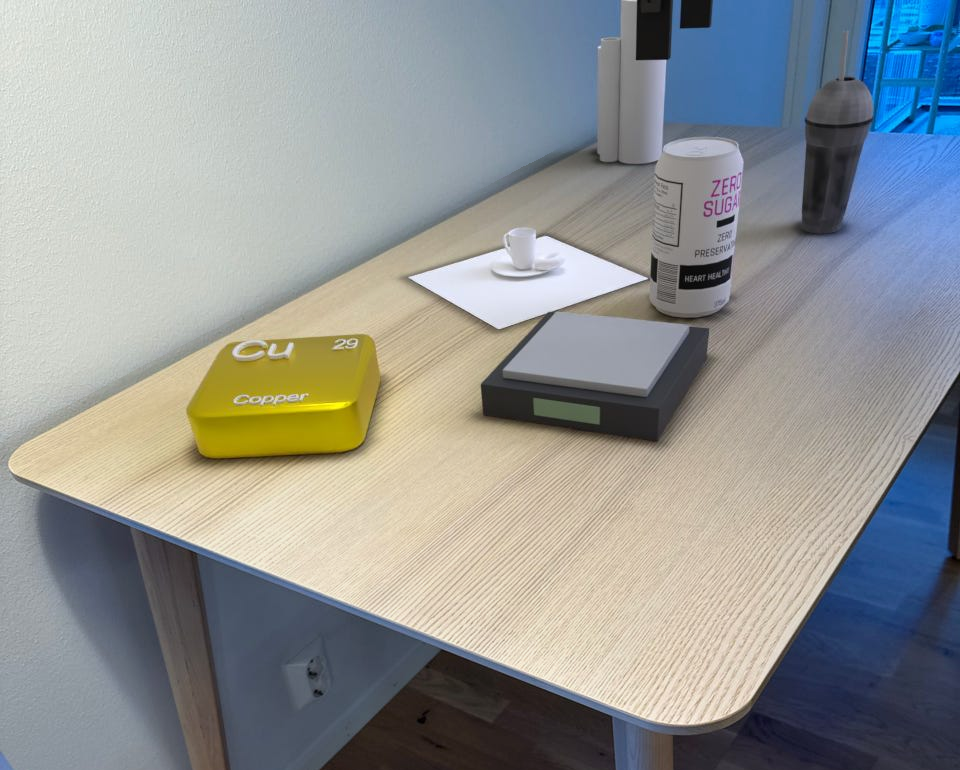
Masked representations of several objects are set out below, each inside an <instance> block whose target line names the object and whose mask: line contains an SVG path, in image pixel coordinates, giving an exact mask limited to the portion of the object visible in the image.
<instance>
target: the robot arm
mask: <svg viewBox="0 0 960 770" xmlns="http://www.w3.org/2000/svg"><path fill="white" fill-rule="evenodd" d="M713 3H714V0H680V16H679V30H680V29H681V30H683V29H684V30H685V29H709V28H711V27H712V21H713V20H712V17H713V5H714V4H713ZM673 9H674V0H637V22H636V60H666V61H668V60H670V59H671V58H672V57H671V56H672V35H673V13H674V11H673Z"/></svg>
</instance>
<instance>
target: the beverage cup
mask: <svg viewBox="0 0 960 770" xmlns="http://www.w3.org/2000/svg"><path fill="white" fill-rule="evenodd" d="M848 41H849V30H843V32H842V42H841V52H840V53H841V54H840V61H839V62H840V63H839V73H838V74H839V75H838V77H834V78H833V79H831V80H829V81H828V82H826V83H825V84H823V85H822V86H821V87H820V88H819V89H818V90H817V92H816V93H815V94H814V96H813V98H811V100H810V103H809V106H808V109H807V112H806V116H805V117H804V123H805V126H804V133H805V134H804V137H805V138H804V139H805V154H804V171H803V185H802V187H803V188H802V199H801V200H802V203H801V226H800V227H801V229H802V230H803V231H804V232H807V233H810V234H811V233H812V234H831V233H836V232H838V231H839V230H841V228H842V224H843V221H844V217H845V214H846V212H847V208H848V204H849V200H850V196H851V193H852V189H853V185H854V181H855V178H856V174H857V170H858V166H859V162H860V159H861V155H862V151H863V147H864V144H865V141H866V140H867V137H868V134H869V132H870V129H871V124H872V123H873V121H874V102H873V97H872V93H871V91H870V89H869V88H868V86H867V85H866V83H864V82H863V81H862V80H860V79H859V78H857V77H854V76H845V72H846V64H847V63H846V60H847V51H848Z"/></svg>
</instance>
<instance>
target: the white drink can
mask: <svg viewBox="0 0 960 770" xmlns="http://www.w3.org/2000/svg"><path fill="white" fill-rule="evenodd" d="M739 146H740V145H739V143H738V142H737V141H736V140H733V139H730V138H726V137H718V136H694V137H686V138H679V139H676V140H673V141H669V142H668V143H666V144H664V145H663V146H662V154H661V156H660V158H659V160H657V161H656V164H655V166H654V182H653V183H654V185H653V203H652V204H653V207H652V226H651V227H652V229H651V248H650V249H651V253H650V256H651V257H650V271H649V272H650V273H649V295H648V296H649V299H648V300H649V301H650V303H651V305H653V306H654V307H655V308H656V310H657V311H658V312H660V313H661V314H663V315H666V316H671V317H676V318H683V319H688V318H689V319H691V318H700V317H706V316H710V315H713V314H714V313H718V312H719V311H720V310H721V309H722V308H723V307H724V306H725V305H726V304H727V303H728V302H729V301H730V297H731V289H732V280H733V279H732V277H733V268H734V260H735V250H736V239H737V229H738V221H739V210H740V203H741V193H742V192H741V191H742V182H743V172H744V159H743V156H742V154H741V151H740V149H739Z"/></svg>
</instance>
